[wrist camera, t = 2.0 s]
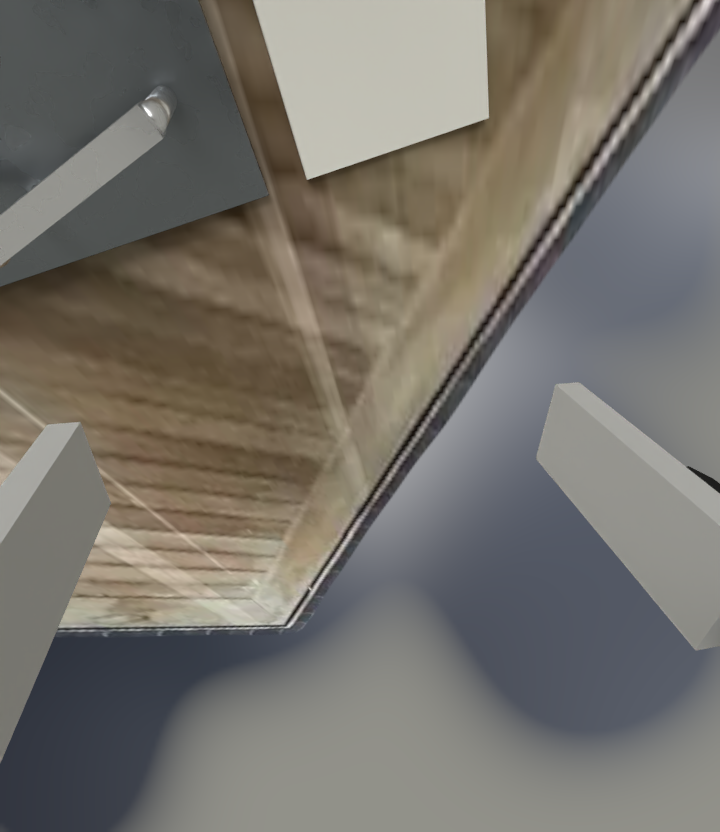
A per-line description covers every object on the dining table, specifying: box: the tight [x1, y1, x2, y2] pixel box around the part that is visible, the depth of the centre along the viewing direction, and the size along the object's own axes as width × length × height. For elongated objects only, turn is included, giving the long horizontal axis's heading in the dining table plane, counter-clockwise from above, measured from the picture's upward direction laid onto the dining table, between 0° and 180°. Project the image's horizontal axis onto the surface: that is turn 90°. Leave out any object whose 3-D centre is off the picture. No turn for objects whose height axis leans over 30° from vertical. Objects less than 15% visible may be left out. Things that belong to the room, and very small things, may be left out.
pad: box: [253, 0, 489, 180], centre depth 29 cm, size 14×14×1 cm
